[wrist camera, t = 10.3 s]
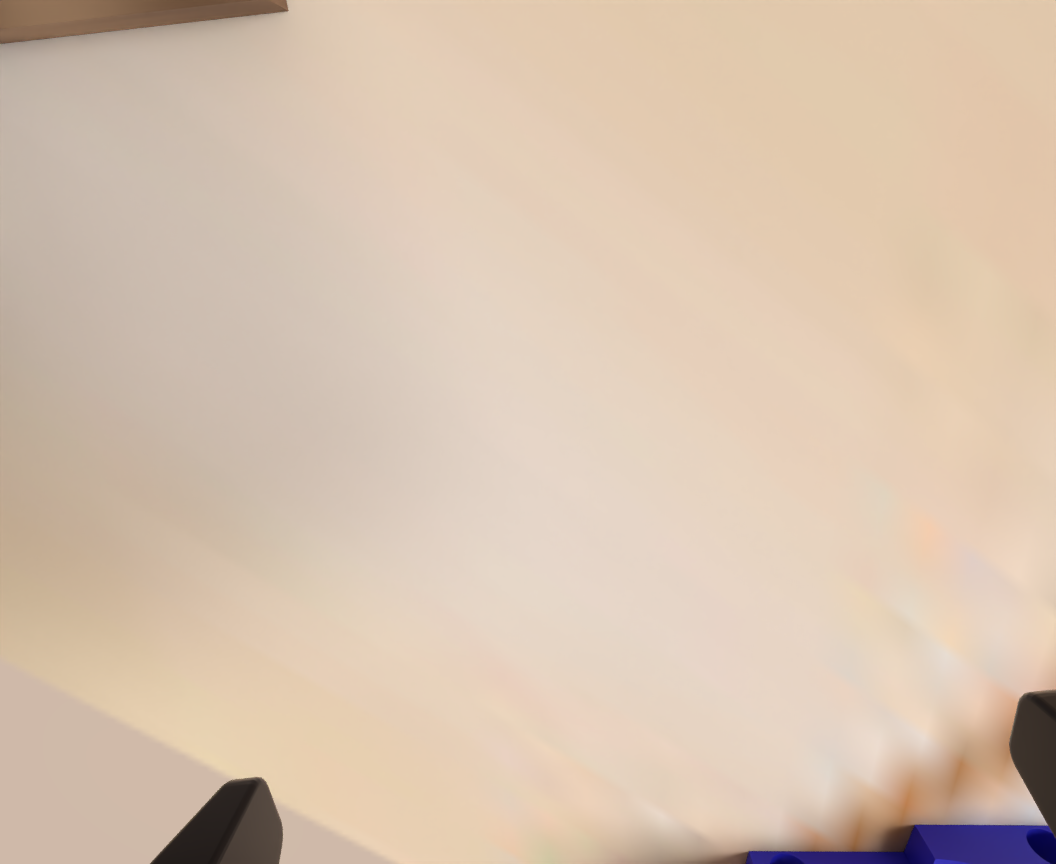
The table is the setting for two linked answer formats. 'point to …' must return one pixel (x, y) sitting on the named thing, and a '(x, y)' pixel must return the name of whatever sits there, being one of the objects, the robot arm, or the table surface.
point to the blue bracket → (941, 848)
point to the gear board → (115, 15)
